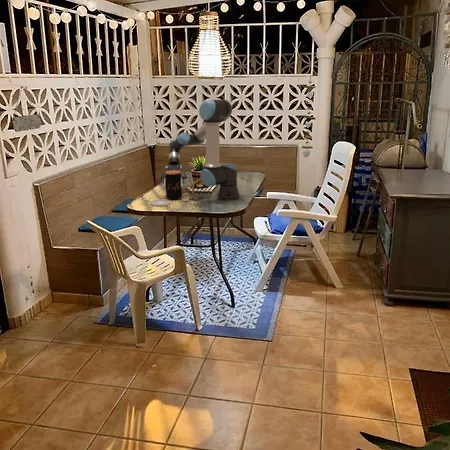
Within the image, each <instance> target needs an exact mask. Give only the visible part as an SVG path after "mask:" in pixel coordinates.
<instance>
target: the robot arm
mask: <svg viewBox="0 0 450 450" xmlns="http://www.w3.org/2000/svg"><path fill="white" fill-rule="evenodd" d="M232 112H233V106H232V104H231V102H230V101H229V100H227V99H223V98H221V99H220V98H219V99H208V100H204V101H203V102H201V104H200V106H199V109H198V113H199V116H200V119H202V121H203V122H202V123H203V124H201V125H200V127H199V128H198V129H197V130H196V131H195V132H194V133H191V134H189V133H186V132H181V133H180V134H179V135H178V136H177V137H176V138H175V139H171V140H170V141H169V143H168V144H169V145H168V165H164V166H163V169H162V172H161V174H160V177H159V178H160V180H162V184H163V189H166V183H165V175H166V174H165V172H166V171H171V170H178V171H180V169H181V173H180V174H181V188H182V189H183V188H184V186H183V184H185V180H187V179H188V176H187V173H186V170H185V165H184V164H182V165H181V164H180V162H181V161H180V160H181V151H182V150H183V148H185V147H189V146H197V145H202V144H204V143H205V160H206V161H205V163H204V164H203V169H201V171H200V174H199V176H200V179H201V181H200V182H202V183H203V184H202V185H205V186H206V187H215V186H219V188H218V192H217V193H216V194H217V199H219V200H223V201H234V200H238V199H240V197H241V196H240V192H239V189H238V168H237V165H236V164H235V163H234V164H233V163H227V162H226V163H225V162H220V125H221V124H222V123H223V122H226V121H227V120H228V119H229V118H230V117H231V116H232Z"/></svg>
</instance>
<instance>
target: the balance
mask: <svg viewBox="0 0 450 450" xmlns="http://www.w3.org/2000/svg"><path fill="white" fill-rule="evenodd" d="M200 182H202V181H201V178H199V179H198V180H197V179H196V181H193V182H191V183H189V184H187V185H184V186H183V187H182V195H190V194H191V193H192V194H191V197H188V198H187V199H188V200H189V201H192V202H195V201H199V198H198V197H195V187H197V188H203V187H204V184H197V183H200ZM195 184H196V185H195ZM189 187H191V192H190V188H189Z"/></svg>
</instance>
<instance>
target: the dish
mask: <svg viewBox="0 0 450 450" xmlns="http://www.w3.org/2000/svg"><path fill="white" fill-rule="evenodd" d="M171 202H172V200H170V199H167V198H166V199H165V198H164V199H163V198H159V199H153V200H151V201H150V203H149V204H150V206H152V207H160V208H161V207H167V206H170V205H171V204H172V203H171Z"/></svg>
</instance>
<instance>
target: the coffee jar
mask: <svg viewBox="0 0 450 450" xmlns="http://www.w3.org/2000/svg"><path fill="white" fill-rule="evenodd" d="M180 173H182V170H179V171H178V170H171V171H168V170H166V172H165V174H166V175H165V174H164V175H165V183H166V188H165V196H166V200H170V201H174V200H175V201H176V200H180V199H182V197H183V194H182V193H183V187H182V188H181V174H180Z"/></svg>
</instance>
